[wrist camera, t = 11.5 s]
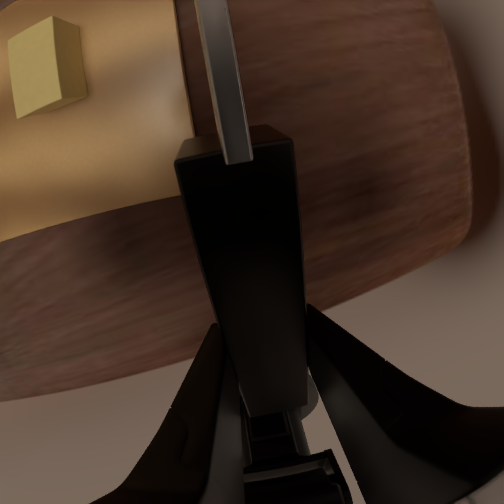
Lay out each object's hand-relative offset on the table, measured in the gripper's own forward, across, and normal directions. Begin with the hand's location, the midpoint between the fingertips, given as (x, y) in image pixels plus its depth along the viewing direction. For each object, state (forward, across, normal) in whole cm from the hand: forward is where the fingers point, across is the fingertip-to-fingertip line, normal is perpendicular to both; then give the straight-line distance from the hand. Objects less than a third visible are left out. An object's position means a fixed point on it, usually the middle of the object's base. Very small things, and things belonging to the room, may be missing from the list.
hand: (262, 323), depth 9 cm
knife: (+1, 0, -6) cm, 6 cm away
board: (+9, +12, -9) cm, 18 cm away
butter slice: (+8, +7, -10) cm, 15 cm away
